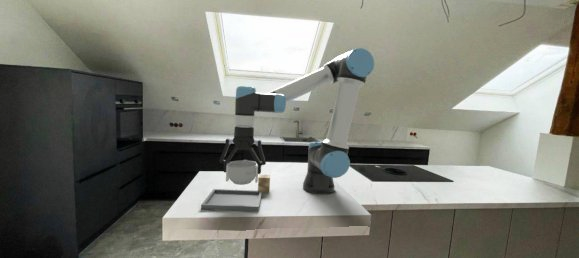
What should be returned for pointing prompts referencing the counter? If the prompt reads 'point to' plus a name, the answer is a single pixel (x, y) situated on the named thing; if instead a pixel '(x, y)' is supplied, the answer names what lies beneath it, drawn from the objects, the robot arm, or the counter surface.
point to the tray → (232, 200)
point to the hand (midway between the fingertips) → (242, 181)
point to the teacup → (242, 171)
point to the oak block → (264, 183)
